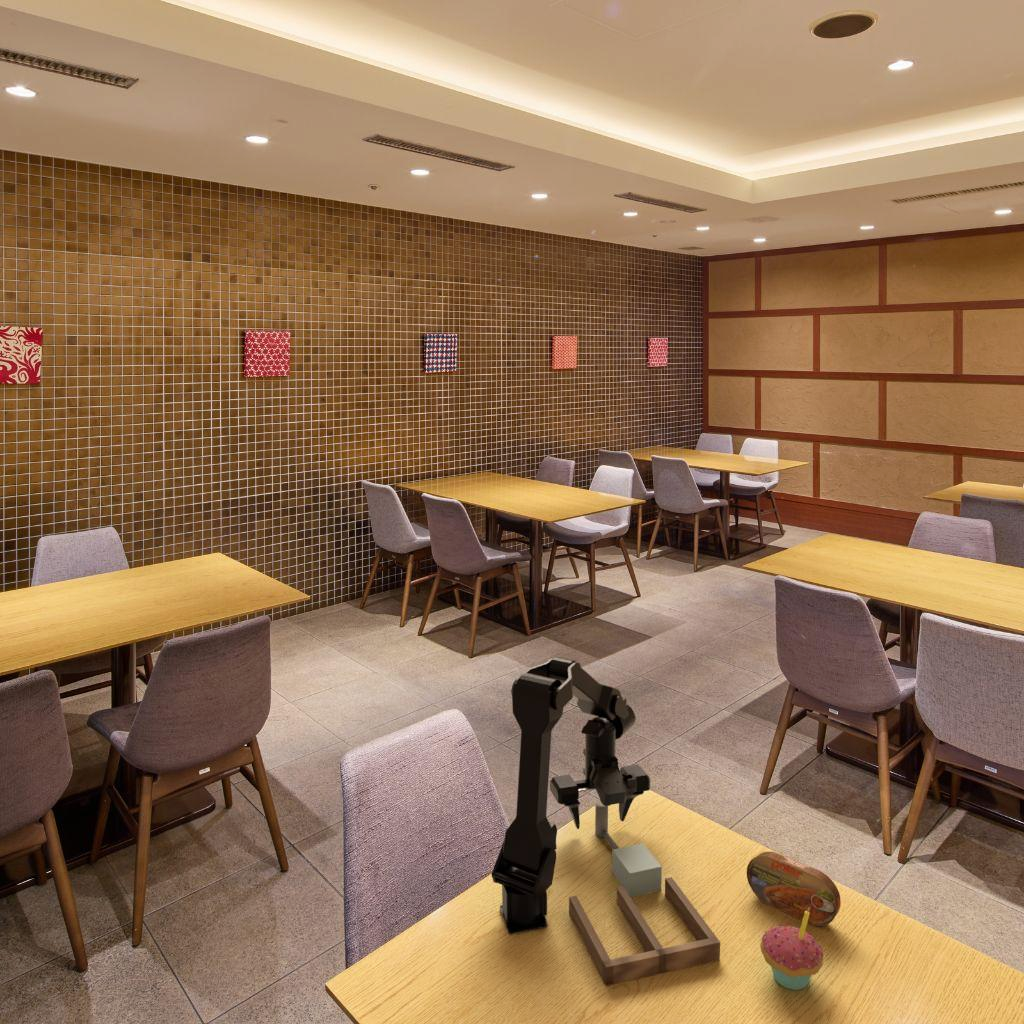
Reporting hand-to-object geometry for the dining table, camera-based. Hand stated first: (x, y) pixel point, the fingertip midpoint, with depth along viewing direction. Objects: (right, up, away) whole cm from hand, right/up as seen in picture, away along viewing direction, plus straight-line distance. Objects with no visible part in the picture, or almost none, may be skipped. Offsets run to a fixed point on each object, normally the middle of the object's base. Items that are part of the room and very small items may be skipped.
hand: (599, 824), depth 149 cm
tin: (+29, -5, -22) cm, 37 cm away
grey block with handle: (+3, -3, -9) cm, 10 cm away
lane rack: (+3, -6, -28) cm, 29 cm away
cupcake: (+24, -8, -37) cm, 44 cm away
